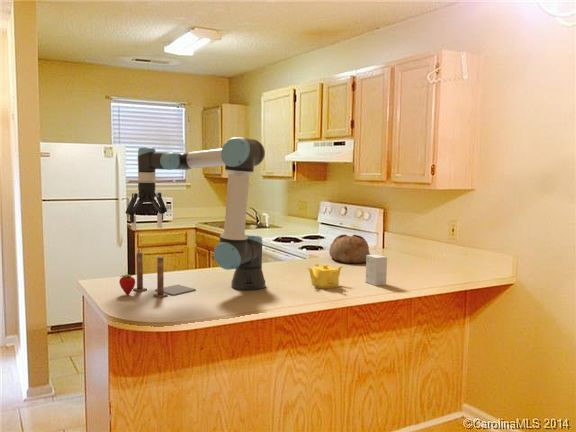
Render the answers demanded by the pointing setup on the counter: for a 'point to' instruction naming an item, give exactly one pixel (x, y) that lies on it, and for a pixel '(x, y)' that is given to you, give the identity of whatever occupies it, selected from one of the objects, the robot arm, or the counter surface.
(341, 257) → the bread
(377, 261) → the small box
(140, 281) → the post
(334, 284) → the teapot
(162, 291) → the post
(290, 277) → the counter surface
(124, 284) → the strawberry
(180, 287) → the slate coaster
